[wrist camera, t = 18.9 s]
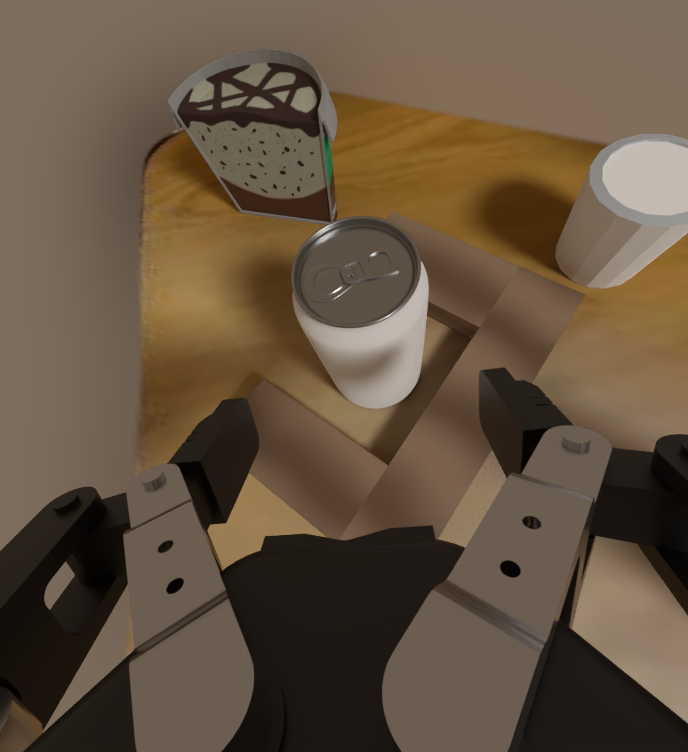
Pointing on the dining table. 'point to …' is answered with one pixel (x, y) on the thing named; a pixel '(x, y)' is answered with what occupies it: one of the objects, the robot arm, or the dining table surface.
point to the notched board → (439, 420)
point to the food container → (264, 132)
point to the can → (363, 307)
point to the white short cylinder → (626, 210)
